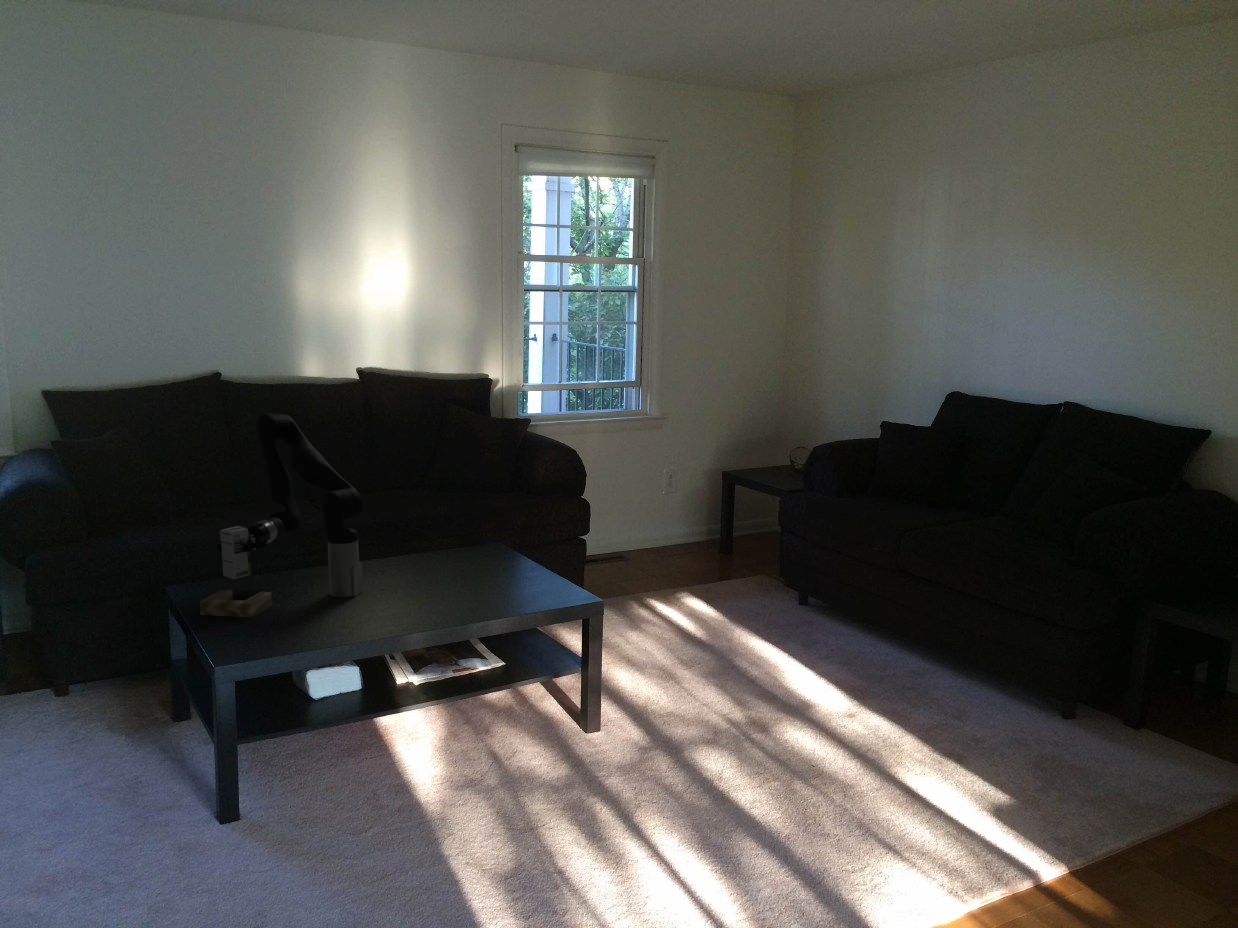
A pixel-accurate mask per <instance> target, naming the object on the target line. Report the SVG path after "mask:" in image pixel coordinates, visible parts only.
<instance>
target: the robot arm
mask: <svg viewBox="0 0 1238 928" xmlns="http://www.w3.org/2000/svg"><path fill="white" fill-rule="evenodd" d="M303 433H304V432H302V430H301V429H300V427H299V426H298V424H297V423H296V422H295V420H294V419H293V418H292V417H291V416H289V415H288V414H286V413H285V414H284V413H262V414H260V416H258V419H257V420H256V434H257V438H258V441H259V442H258V443H259V446H260V449H261V454H262V457H263V460H264V463H265V464H264V465H265V467H266V472H267V476H268V482H269V490H270V493H269V494H270V499H271V502H272V504H273V505H278V506H280V505H281V506H283V508H284V511H277V512H273V513H270V514H269V515H268V516H267V517H266V518H265V519H263V520H259V521H257V522H255V523H252V524H250V525H248V526H246V527H245V528H248V534H249V543H247V544H245V545H244V546H243V550H244V552H248V551H252V550H263V549H266V547H268V546H271V542H273V541H274V540H276V539H278V538H280V537H281V536H283V534H286V533H293V532H297V531H298V530H300V529H301V527H302V524H303V518H302V515H301V512H300V510H299V508H298V507H299V506H298V505H297V502H296V499H295V497H294V489H293V481H292V477H291V473H290V472H289V470H288V468H287V467H286V465H285V464H284V462H283V461H282V459H281V457H280V456H279V454H278V450H277V448H276V442H279V443H280V442H281V443H283V444H285V445H286V446H288V448H289V449H291V459H290V460H291V466H292V467H293V469H294V470H295V471H296V473H297V474H298V475H299V476H300V477H301V478H302V479H303V480H304V481H306V482H307V483H309V484H310V485H312V486H314V487H317V488H319V489H321V490H323V491H326V493H325V495H324V496H323V500H322V509H323V510H322V511H323V517H324V518H323V519H324V529H325V533H326V539H327V556H328V559H327V561H328V580H329V581H328V582H329V584H328V585H329V595H330V596H331V597H333V598H343V599H344V598H352V597H353V598H354V597H357V596H359V594H361V593H362V592H364V591H363V590H364V589H363V563H362V562H361V561H360V553H359V552H360V551H359V534H358V533H359V532H358V530H357V529H354V528H350V527H346V526H345V523H344V520H346V519H352V518H355V517H357V516H360V515H361V514H362V513H363V512H364V500H363V498H362V495H361V494H360V493H359V491H358V490H357V489H356V488H355V487H354V486H353V485H352V484H350V483H349V482H348V481H347V480H346V479H345V478H344V477H342V476H341V475H340V474H339V473H338V472H337V471H336V470H335V469H334V468H333V467H332V466H331V464H330V463H329V462H328V461H327V460H326V459H325V458H324V456H323V455H322V454H321V453H320V452H319V450H317V448H315V447H314V445H312V443H311V441H309V439H308V438H307V437H306V436H305V434H303ZM216 547H217V551H220V552H222V549H221V537H219V538H218V543H217V546H216Z"/></svg>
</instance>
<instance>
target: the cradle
mask: <svg viewBox="0 0 1238 928" xmlns="http://www.w3.org/2000/svg"><path fill="white" fill-rule="evenodd" d="M233 592H234V591H233V589H221V590H219V591H217V592H215V593H213V594H212V595H209V596H208V597H205V598H204V599H202V600H200V601H199V610H200V616H216V617H217V616H218V617H231V616H232V617H235V618H251V619H252V618H253V617H255V616H257V615H258V614H260V613H261V612H264V611H265V610H266V609H268V608H269V607H271V606H272V605H273V599H272V592H270V591H268V592H267V591H259V592H257V593H255V594H254V595H252V596H251V597H249V598H247V599H246V600H242V599H241V600H240V599H237V600H236V599H234V595H233Z"/></svg>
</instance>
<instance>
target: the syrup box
mask: <svg viewBox="0 0 1238 928" xmlns="http://www.w3.org/2000/svg"><path fill="white" fill-rule="evenodd" d="M219 535H220V538H221V549H222V551H221V560H222V573H223V577H225V578H228V579H231V580H237V579H240V578H244V577H248V576H251V575H252V565H251V552H250V551H251V550H250V551H248V552H244V550H243V546H244V545H245V544H247V543H249V534H248V528H246V527H244V526H241V525H239V526H238V525H236V526H232V527H228V528H223V529H222V528H221V529H220V530H219Z"/></svg>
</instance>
